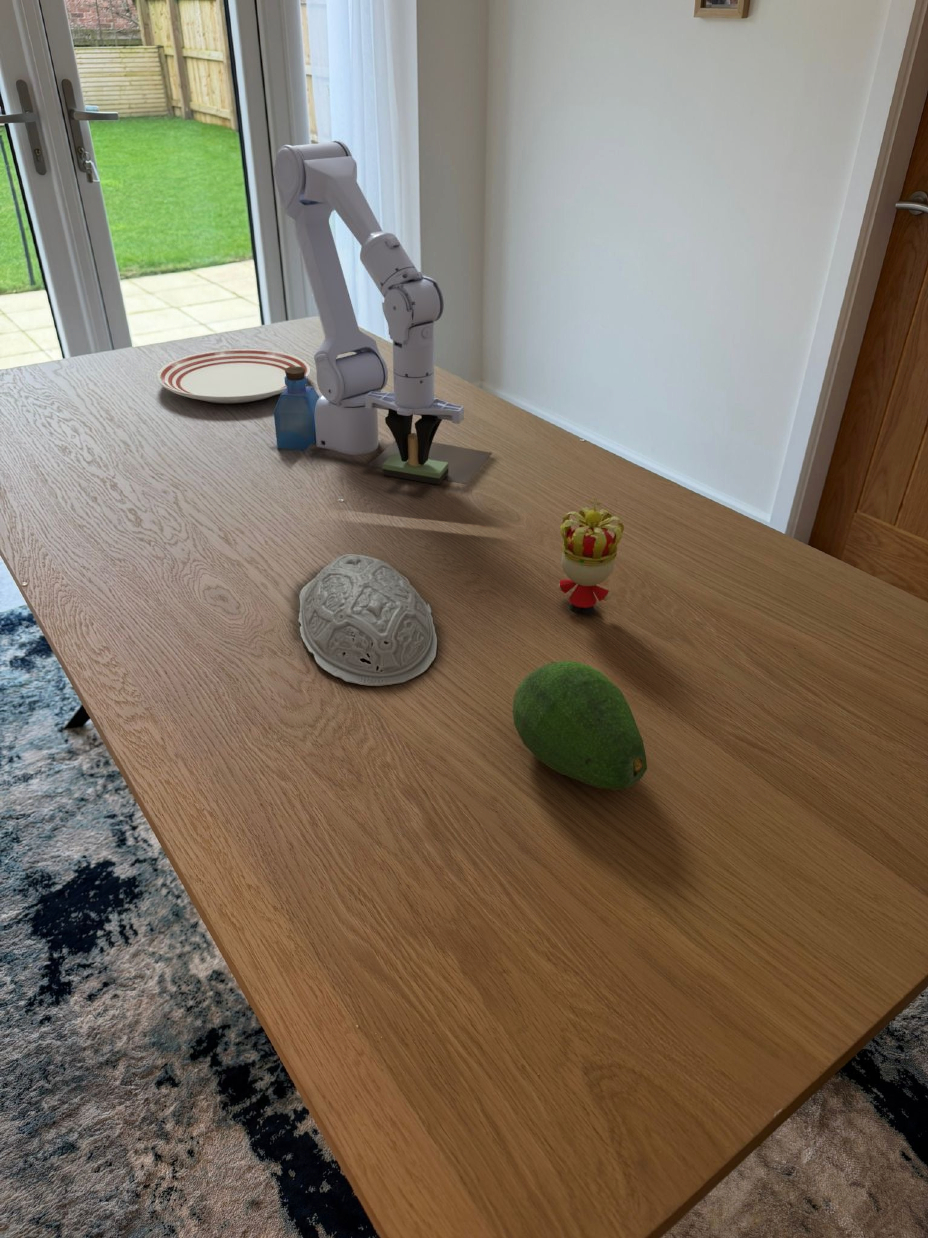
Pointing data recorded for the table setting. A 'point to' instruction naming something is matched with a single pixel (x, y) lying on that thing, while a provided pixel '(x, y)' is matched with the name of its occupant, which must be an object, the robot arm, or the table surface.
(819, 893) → the table surface
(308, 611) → the grey turtle shell
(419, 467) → the brush
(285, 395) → the perfume bottle
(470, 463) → the tray
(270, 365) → the dinner plate
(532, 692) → the fruit
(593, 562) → the toy
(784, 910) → the table surface
